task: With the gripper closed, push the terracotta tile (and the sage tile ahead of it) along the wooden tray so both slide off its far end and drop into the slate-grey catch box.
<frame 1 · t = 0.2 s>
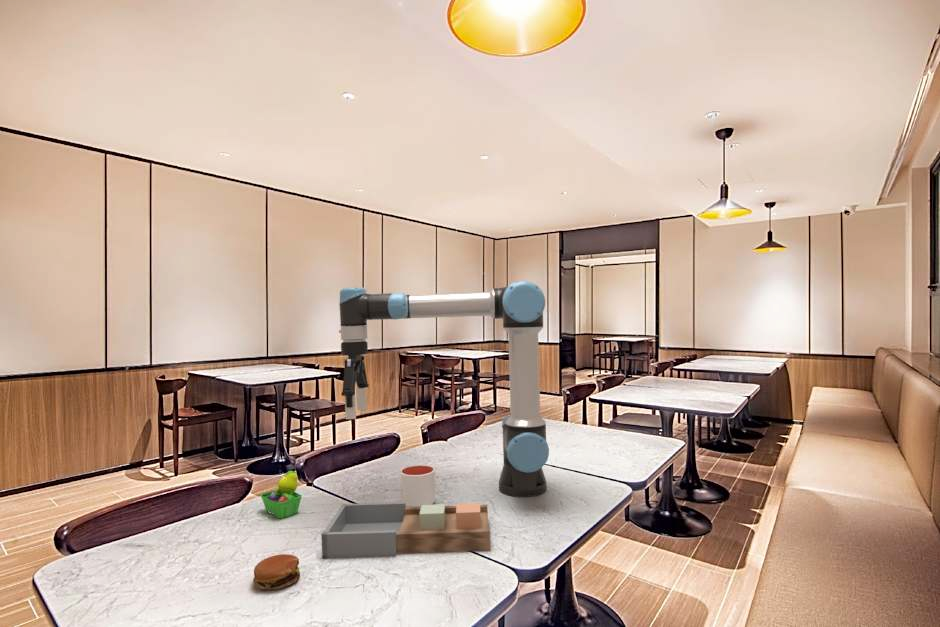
hand: (356, 414, 148), 28 cm above the table, fingers open, 13 cm apart
catch box: (367, 538, 128), on the table
wooden tray: (445, 536, 128), on the table
cup: (418, 504, 151), on the table
tile near: (468, 523, 128), point 3 cm above the table, touching wooden tray
burger: (277, 582, 109), on the table
fruit basket: (283, 512, 148), on the table
tile far: (432, 524, 128), point 3 cm above the table, touching wooden tray
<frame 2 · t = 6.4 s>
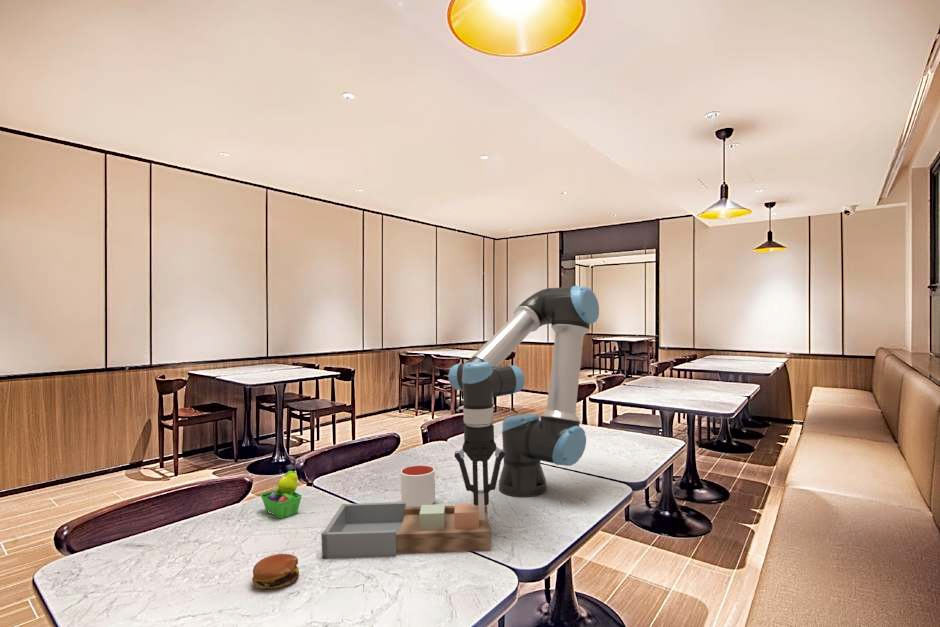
hand: (481, 517, 128), 4 cm above the table, fingers closed
tile near: (467, 523, 128), point 3 cm above the table, touching gripper
everything else where it was.
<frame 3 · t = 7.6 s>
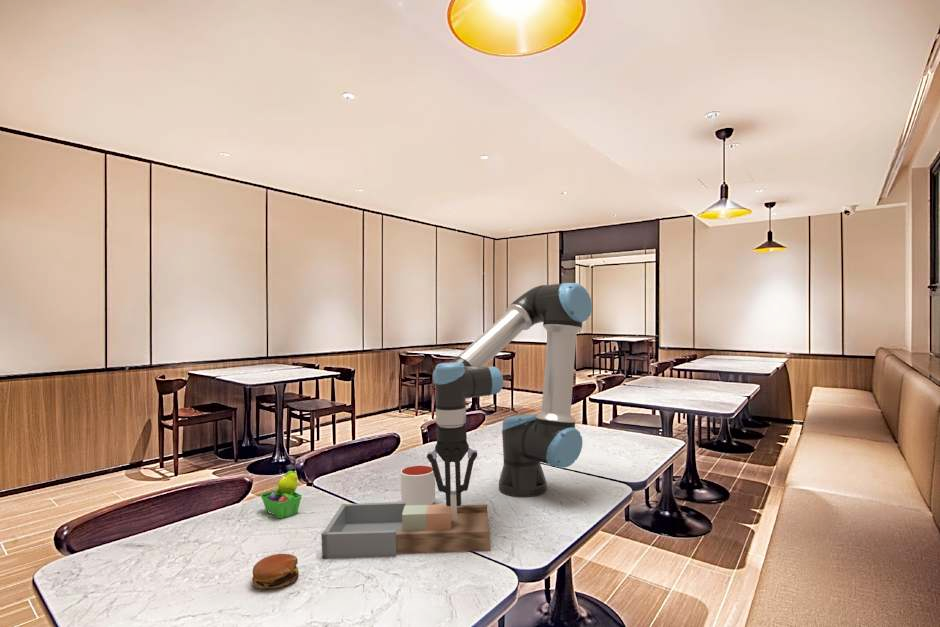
hand: (454, 518, 128), 5 cm above the table, fingers closed
tile near: (439, 524, 128), point 3 cm above the table, touching wooden tray, gripper, tile far
tile far: (415, 525, 128), point 3 cm above the table, touching wooden tray, tile near
everything else where it was.
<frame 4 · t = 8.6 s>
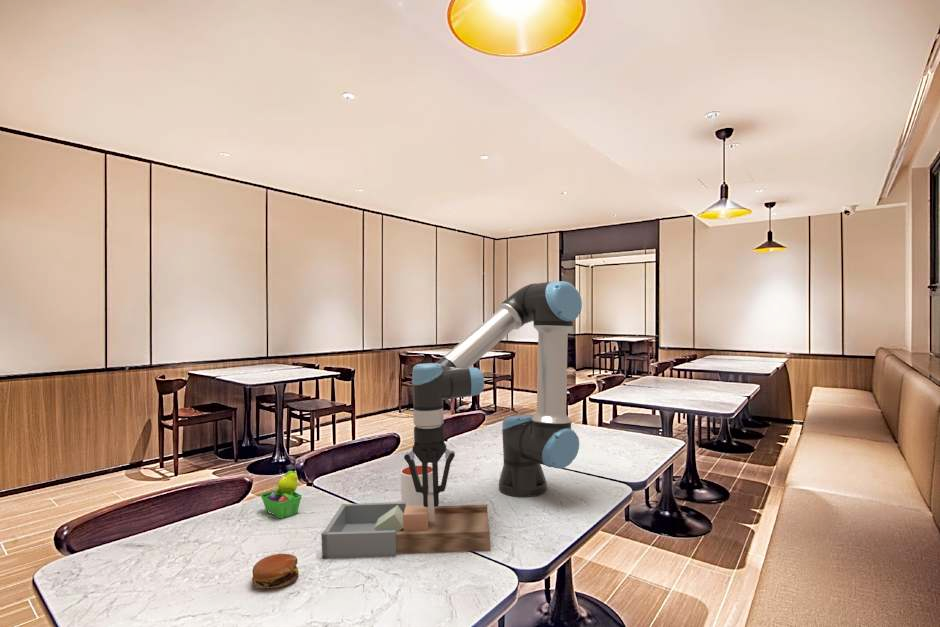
hand: (431, 519, 128), 5 cm above the table, fingers closed
tile near: (417, 525, 128), point 3 cm above the table, touching gripper, tile far
tile far: (395, 529, 128), point 2 cm above the table, tilted 32°, touching tile near
everything else where it was.
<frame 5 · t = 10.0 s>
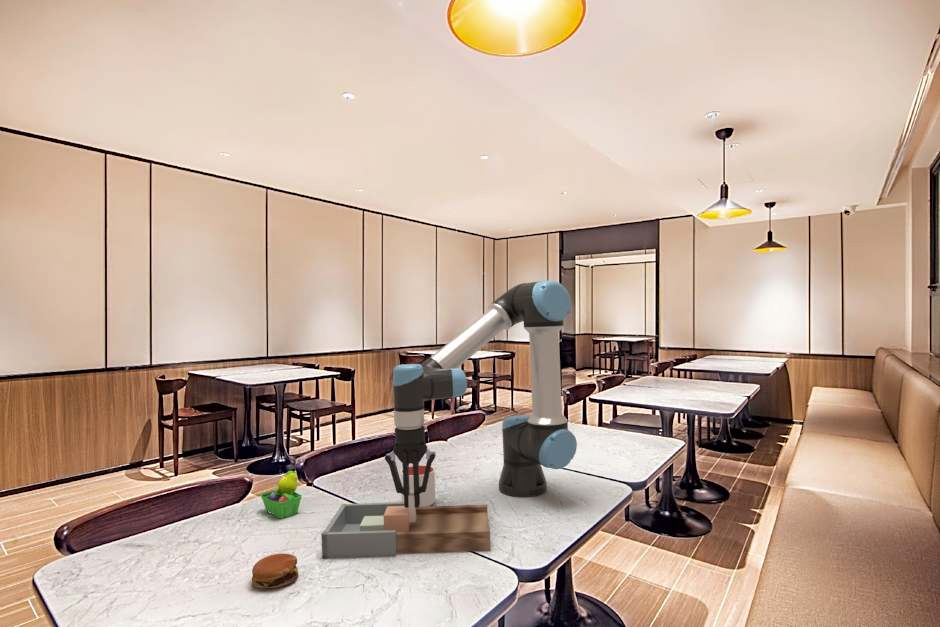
hand: (412, 519, 128), 4 cm above the table, fingers closed
tile near: (398, 526, 128), point 3 cm above the table, touching gripper, tile far
tile far: (374, 536, 128), point 1 cm above the table, touching catch box, tile near
everything else where it was.
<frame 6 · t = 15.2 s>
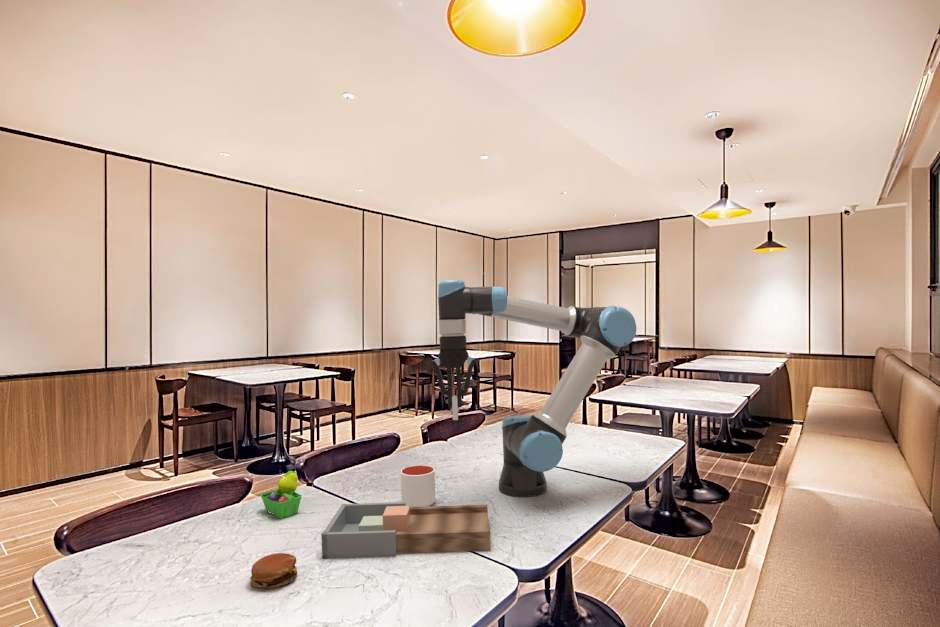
hand: (455, 418, 143), 26 cm above the table, fingers closed
tile near: (397, 526, 128), point 3 cm above the table, touching wooden tray, tile far
everything else where it was.
at the end: tile near inside the target area (7.5 cm from its centre), point 3.0 cm above the table; tile far inside the target area (1.5 cm from its centre), point 0.6 cm above the table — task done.
